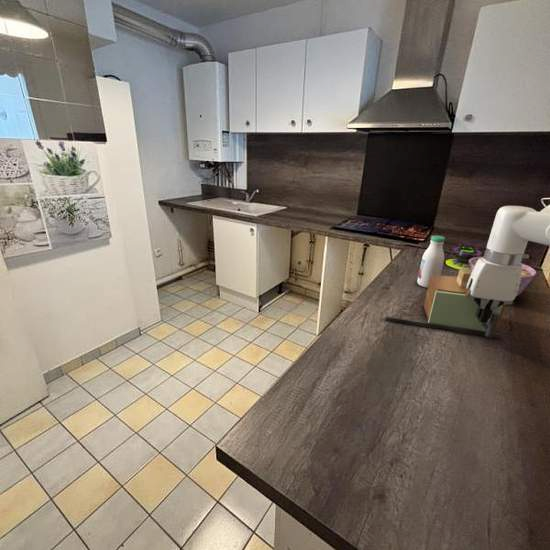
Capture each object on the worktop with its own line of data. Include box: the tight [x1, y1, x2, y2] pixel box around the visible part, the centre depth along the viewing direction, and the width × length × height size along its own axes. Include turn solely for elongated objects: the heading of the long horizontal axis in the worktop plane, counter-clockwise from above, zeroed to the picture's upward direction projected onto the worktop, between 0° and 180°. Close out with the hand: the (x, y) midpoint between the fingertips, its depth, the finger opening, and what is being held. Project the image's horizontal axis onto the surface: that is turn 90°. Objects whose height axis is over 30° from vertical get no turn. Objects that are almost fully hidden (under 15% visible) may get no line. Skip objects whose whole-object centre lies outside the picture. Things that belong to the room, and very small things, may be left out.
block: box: [456, 268, 473, 288], centre depth 88 cm, size 4×4×4 cm
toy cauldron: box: [445, 241, 481, 270], centre depth 137 cm, size 15×15×11 cm
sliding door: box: [427, 291, 503, 338], centre depth 83 cm, size 17×7×11 cm, turn 72°
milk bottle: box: [416, 235, 446, 289], centre depth 114 cm, size 8×8×20 cm
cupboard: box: [385, 274, 507, 339], centre depth 92 cm, size 31×14×12 cm, turn 72°
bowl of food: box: [469, 256, 537, 297], centre depth 108 cm, size 20×20×12 cm
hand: (481, 319), depth 80 cm, fingers closed
